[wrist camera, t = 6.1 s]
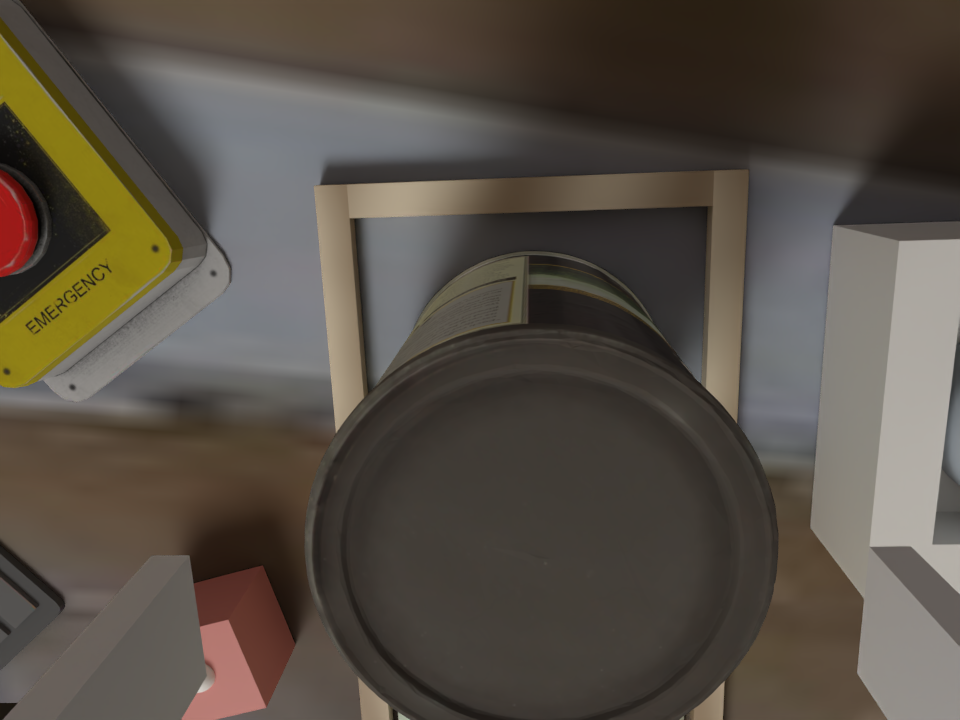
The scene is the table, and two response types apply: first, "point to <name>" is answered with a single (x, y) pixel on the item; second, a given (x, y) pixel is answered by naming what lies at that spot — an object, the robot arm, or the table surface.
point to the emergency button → (84, 229)
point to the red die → (239, 644)
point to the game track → (536, 194)
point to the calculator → (22, 607)
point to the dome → (953, 426)
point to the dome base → (888, 396)
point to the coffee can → (540, 511)
